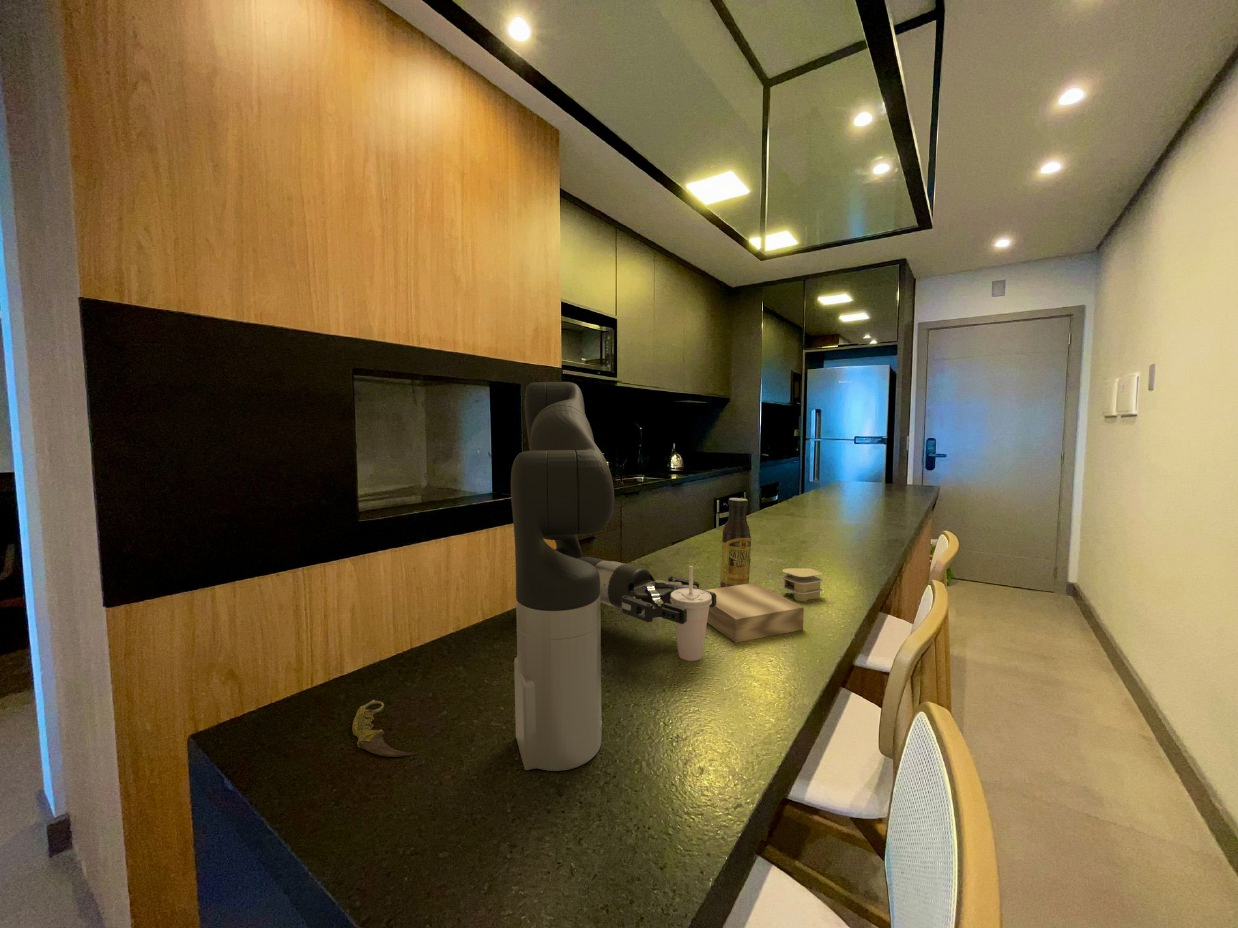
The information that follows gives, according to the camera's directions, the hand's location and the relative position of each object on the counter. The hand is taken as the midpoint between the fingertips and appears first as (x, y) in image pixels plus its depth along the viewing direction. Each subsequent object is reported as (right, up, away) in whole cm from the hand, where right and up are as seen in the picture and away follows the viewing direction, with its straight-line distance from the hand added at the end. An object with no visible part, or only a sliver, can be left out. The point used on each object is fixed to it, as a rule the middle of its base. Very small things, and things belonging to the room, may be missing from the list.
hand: (701, 608), depth 73 cm
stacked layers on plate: (+26, -6, +27) cm, 38 cm away
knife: (-41, -10, -16) cm, 45 cm away
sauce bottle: (+13, -6, +32) cm, 35 cm away
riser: (+11, -7, +15) cm, 20 cm away
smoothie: (-1, -8, +2) cm, 8 cm away
